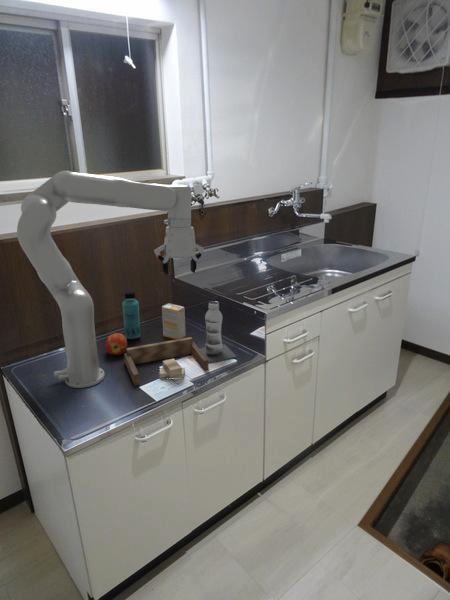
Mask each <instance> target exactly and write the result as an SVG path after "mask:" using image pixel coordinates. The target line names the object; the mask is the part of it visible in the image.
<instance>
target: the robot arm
mask: <svg viewBox="0 0 450 600" xmlns="http://www.w3.org/2000/svg"><path fill="white" fill-rule="evenodd" d="M68 203H74V204H85V205H86V204H88V205H101V206H109V207H118V208H129V209H130V208H131V209H140V210H149V211H159V212H165V211H167V219H164V220H163V224H164V225H167V226H166V227H165V231H164V232H165V234H164V243H163V244H161V245H160V246H159V247H157V248H155V249H154V250H153V251H154V254H155V256H156V258H158V260H160V261H161V265H162V266H161V269H162V272H163V273H164V274H165V276H168V275H169V263H168V261H169V259H182V258H185V259H186V258H191V259H190V272H192V273H193V274H195V273H196V271H197V262H198V260H199V259H200V258H201V256H203V253H204V251H205V248H204V247H202V246H201V245H199V244H197V243H196V236H195V229H194V226H192V188H191V186H190V185H187V184H182V183H181V184H180V183H178V184H176V183H175V184H160V183H156V182H155V183H146V182H145V183H144V182H137V181H132V180H129V179H125V178H122V177H116V176H109V175H102V174H93V173H83V172H75V171H71V170H61V171H59V172H57V173H55V174H54V175H53V176H51V177H50V178H49V179H47V180H46V181H45V182H44V183H42V184H41V185H40V186H38V187H37V188H35V189H34V190H33V191H32V192H31V193H29V194H27V195H26V197H24V199H23V200H22V201H21V205H20V210H21V214H20V216H19V219H18V222H17V227H16V237H17V240H18V243H19V245H20V247H21V250H22V251H23V252H24V254H25V255H26V257H27V259H28V260H29V261H30V263H31V265H32V266H33V268H34V269H35V271H36V274H37V275H38V277H39V280H41V281H42V283H43V284H44V285H45V287H46V288H47V290H48V291H49V293H50V294H51V296H52V297H53V299H54V300H55V302H56V303H57V305H58V308H59V311H60V314H61V322H62V323H61V324H62V334H63V339H64V340H63V341H64V347H65V353H66V354H65V355H66V363H67V365H66V368H63V370H55V371H53V377H54V378H58V380H63V379H64V384H65V385H67V386H68V387H70V388H73V389H74V388H76V389H84V388H90V387H93V386H95V385H98V384H100V382H102V381H103V380H104V378H105V376H106V375H105V371H104V369H103V368H101V367H100V364H99V356H98V347H97V340H96V330H95V307H94V306H95V305H94V301H93V299H92V296H91V294H90V293H89V292H88V290H86V288H85V287H84V286H83V285H82V283H81V281H80V280H79V278H78V277H77V275H76V274H75V272H74V271H73V268H72V266H71V264H70V263H69V261H68V259H66V257H64V255H63V254H62V252H61V251H60V249H59V247H58V246H57V244H56V243H55V241H54V238H53V237H52V235H51V234H52V233H51V229H52V226H53V225H54V223H55V221H56V219H57V212H58V211H59V210H60V209H62V208H63V207H64V206H65V205H67V204H68ZM196 249H197V250H196ZM162 251H163V253H164V255H163V256H162V255H161V252H162ZM196 251H197V252H196Z"/></svg>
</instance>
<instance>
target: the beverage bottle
mask: <svg viewBox="0 0 450 600" xmlns="http://www.w3.org/2000/svg"><path fill="white" fill-rule="evenodd" d="M124 298H125V300H123V302H122V303H121V304H122V317H123V318H122V320H123V321H122V322H123V323H122V324H123V331H124V333H123V335H124V336H125V337H126V339H127V340H135V339H138V338H140V337H141V319H140V307H139V306H140V305H139V304H140V303H139V301H138V300H137V299H136V292H135V291H134V290H127V291H125V292H124Z"/></svg>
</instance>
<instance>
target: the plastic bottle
mask: <svg viewBox="0 0 450 600" xmlns="http://www.w3.org/2000/svg"><path fill="white" fill-rule="evenodd" d="M207 308H208V310H207V311H206V313H205V315H204V321H205V327H206V341H205V346H204V348H205V349H206V352H207V353H208V354H209V355H219V354H220V353H221V352H222V348H223V346H222V345H223V342H222V324H223V314H222V312H221V311H220V310H219V309H220V302H219V301H216V300H215V301H214V300H213V301H209V302H208V307H207Z"/></svg>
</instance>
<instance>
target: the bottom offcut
mask: <svg viewBox="0 0 450 600" xmlns="http://www.w3.org/2000/svg"><path fill="white" fill-rule="evenodd" d="M185 369H186V368H185V367H182V374H180V375H177V376H173V377H170V376H169V374H168V373H167V372H166V371H165V369H164V368H163V367H160V371H159V373H158V375H159V380H170V379H169V378H184V379H185V375H184V374H185V373H186V372H185V371H186V370H185ZM167 378H168V379H167Z"/></svg>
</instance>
